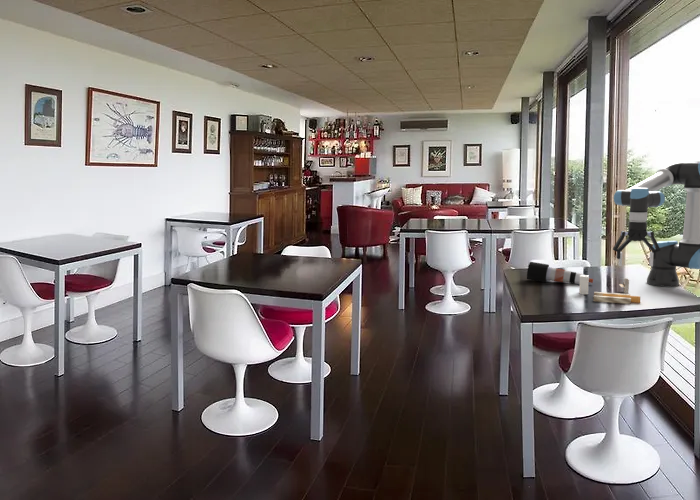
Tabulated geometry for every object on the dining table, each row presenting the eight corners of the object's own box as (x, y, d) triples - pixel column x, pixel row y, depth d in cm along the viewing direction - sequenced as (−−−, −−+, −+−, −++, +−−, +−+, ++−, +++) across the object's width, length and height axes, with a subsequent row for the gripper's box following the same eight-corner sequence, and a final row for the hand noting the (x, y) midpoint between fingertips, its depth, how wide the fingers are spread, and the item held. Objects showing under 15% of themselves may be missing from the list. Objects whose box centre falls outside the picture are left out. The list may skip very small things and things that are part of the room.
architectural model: (620, 294, 290) (621, 279, 289) (618, 291, 297) (619, 277, 295) (628, 294, 289) (629, 280, 288) (626, 291, 295) (627, 277, 294)
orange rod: (639, 299, 272) (640, 295, 270) (639, 304, 270) (640, 300, 268) (602, 296, 279) (603, 292, 277) (602, 301, 277) (602, 297, 275)
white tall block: (588, 292, 292) (588, 275, 291) (587, 294, 289) (588, 276, 287) (579, 292, 294) (580, 274, 293) (579, 293, 290) (579, 276, 289)
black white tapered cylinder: (590, 293, 309) (592, 279, 303) (526, 282, 323) (527, 268, 317) (592, 282, 316) (595, 268, 310) (530, 271, 330) (530, 258, 324)
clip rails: (630, 299, 277) (630, 294, 277) (630, 303, 268) (631, 298, 268) (593, 296, 284) (594, 291, 284) (593, 301, 275) (593, 296, 274)
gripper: (664, 220, 271) (661, 264, 274) (607, 220, 275) (605, 264, 278) (669, 221, 263) (666, 267, 267) (611, 221, 268) (609, 266, 271)
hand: (635, 265), depth 273 cm, fingers open, 13 cm apart
